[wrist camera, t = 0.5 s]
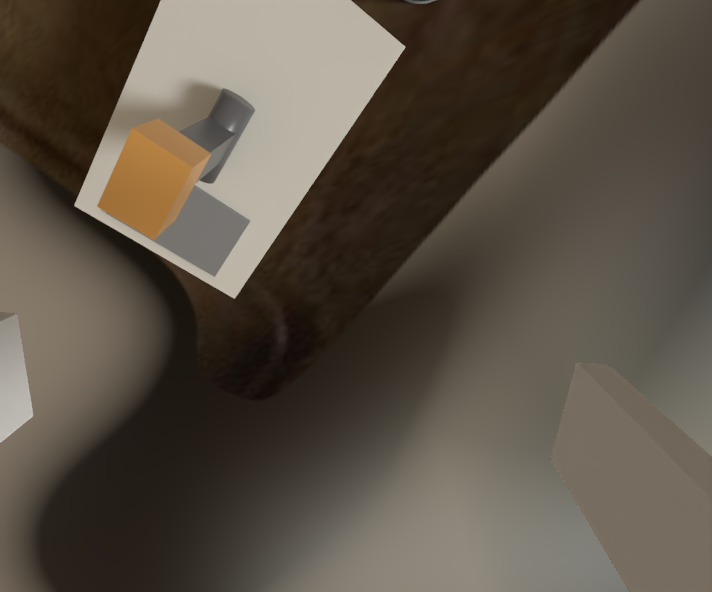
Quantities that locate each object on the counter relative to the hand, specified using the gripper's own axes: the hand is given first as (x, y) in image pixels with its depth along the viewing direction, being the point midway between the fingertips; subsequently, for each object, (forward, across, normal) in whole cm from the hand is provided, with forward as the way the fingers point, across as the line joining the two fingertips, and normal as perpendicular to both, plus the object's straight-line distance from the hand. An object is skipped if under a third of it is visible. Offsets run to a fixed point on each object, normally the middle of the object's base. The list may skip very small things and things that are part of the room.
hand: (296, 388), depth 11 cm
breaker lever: (+18, -7, +5) cm, 20 cm away
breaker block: (+26, -8, +7) cm, 28 cm away
